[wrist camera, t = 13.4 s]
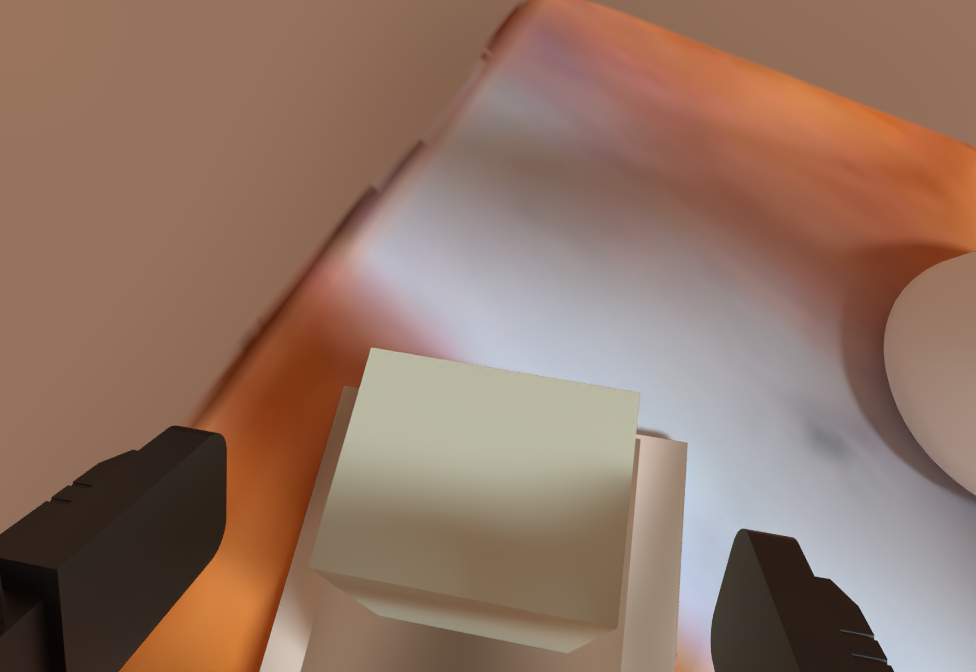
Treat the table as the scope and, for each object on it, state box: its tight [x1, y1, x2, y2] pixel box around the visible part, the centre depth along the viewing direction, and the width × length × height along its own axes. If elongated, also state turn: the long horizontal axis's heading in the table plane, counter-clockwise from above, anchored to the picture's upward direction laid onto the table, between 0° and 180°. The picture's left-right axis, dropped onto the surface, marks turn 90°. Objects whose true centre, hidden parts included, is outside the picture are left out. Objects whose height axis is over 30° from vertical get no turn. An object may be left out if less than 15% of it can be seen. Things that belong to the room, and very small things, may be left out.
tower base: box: [260, 385, 687, 672], centre depth 22 cm, size 13×12×6 cm
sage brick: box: [308, 347, 640, 653], centre depth 16 cm, size 5×4×8 cm
